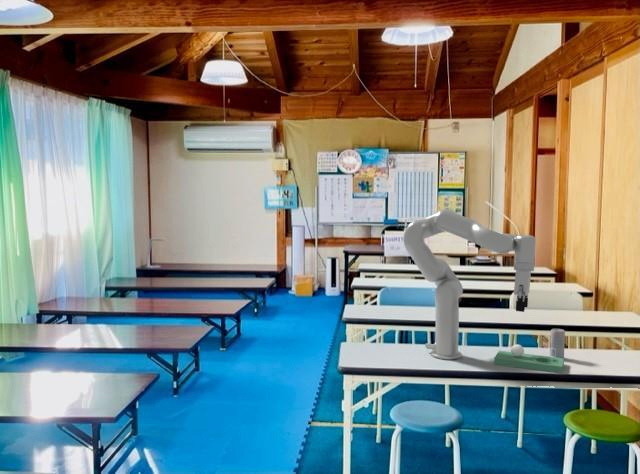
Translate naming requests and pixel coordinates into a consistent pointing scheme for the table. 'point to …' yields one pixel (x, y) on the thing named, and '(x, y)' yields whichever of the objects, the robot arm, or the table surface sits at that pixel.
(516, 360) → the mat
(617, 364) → the table surface
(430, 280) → the robot arm
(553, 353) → the energy drink
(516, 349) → the ball
